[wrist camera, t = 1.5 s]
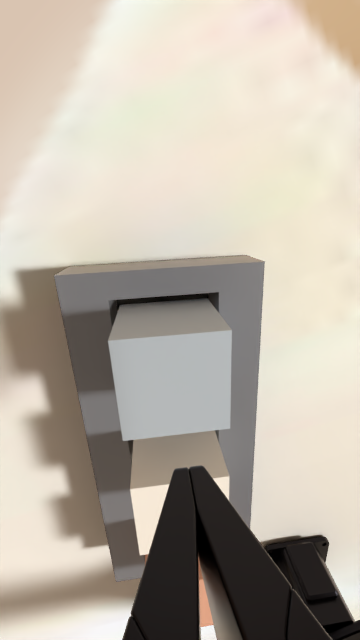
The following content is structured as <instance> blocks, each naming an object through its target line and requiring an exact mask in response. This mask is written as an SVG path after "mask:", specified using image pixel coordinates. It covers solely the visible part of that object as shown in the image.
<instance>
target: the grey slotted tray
mask: <svg viewBox="0 0 360 640" xmlns="http://www.w3.org/2000/svg"><path fill="white" fill-rule="evenodd" d="M264 263H265V262H264V261H261V260H259V259H256V258H253V257H250V256H247V255H241V256H225V257H209V258H193V259H177V260H161V261H146V262H130V263H114V264H98V265H82V266H69V267H68V268H66V269H64V270H62V271H61V272H59V273H57V274H56V275H54V278H55V283H56V288H57V293H58V298H59V303H60V308H61V313H62V317H63V322H64V327H65V332H66V337H67V342H68V347H69V352H70V357H71V362H72V367H73V372H74V377H75V382H76V386H77V391H78V396H79V401H80V406H81V411H82V416H83V421H84V426H85V431H86V436H87V441H88V446H89V451H90V455H91V460H92V465H93V470H94V475H95V480H96V485H97V490H98V495H99V500H100V505H101V510H102V515H103V520H104V524H105V529H106V534H107V539H108V544H109V549H110V554H111V559H112V564H113V569H114V574H115V579H116V582H118V581H125V580H131V579H137V578H141V577H142V574H143V570H144V567H145V555H140V553H139V546H138V539H137V533H136V526H135V519H134V513H133V506H132V499H131V492H130V483H131V468H132V453H133V440H127V441H123V438H122V432H121V425H120V418H119V412H118V405H117V398H116V391H115V385H114V378H113V371H112V364H111V358H110V351H109V344H108V339H109V336H110V333H111V330H112V327H113V324H114V321H115V318H116V315H117V312H118V310H117V302H116V300H119V299H133V298H146V297H160V296H173V295H187V294H200V293H208V299H209V301H210V302H211V303H212V305H213V306H214V307H215V309H216V310H217V311H218V313H219V314H220V315H221V317H222V318H223V319H224V320H225V322H226V323H227V324H228V326H229V327H230V328H231V330H232V351H231V411H230V429H222V430H215V432H216V435H217V439H218V442H219V445H220V448H221V451H222V454H223V458H224V461H225V464H226V467H227V470H228V473H229V501H230V503H231V504H232V505H233V507H234V508H235V509H236V511H237V512H238V513H239V515H240V516H241V518H242V519H243V520H244V522H245V523H246V524H247V526H248V527H249V528H250V519H251V501H252V482H253V464H254V446H255V428H256V409H257V391H258V373H259V354H260V336H261V318H262V300H263V281H264Z"/></svg>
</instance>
